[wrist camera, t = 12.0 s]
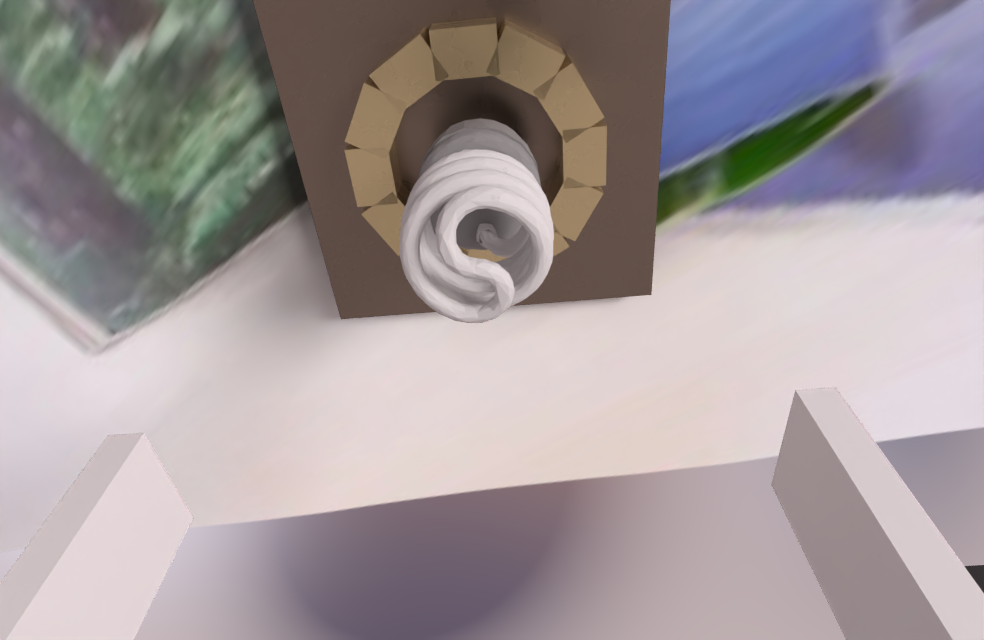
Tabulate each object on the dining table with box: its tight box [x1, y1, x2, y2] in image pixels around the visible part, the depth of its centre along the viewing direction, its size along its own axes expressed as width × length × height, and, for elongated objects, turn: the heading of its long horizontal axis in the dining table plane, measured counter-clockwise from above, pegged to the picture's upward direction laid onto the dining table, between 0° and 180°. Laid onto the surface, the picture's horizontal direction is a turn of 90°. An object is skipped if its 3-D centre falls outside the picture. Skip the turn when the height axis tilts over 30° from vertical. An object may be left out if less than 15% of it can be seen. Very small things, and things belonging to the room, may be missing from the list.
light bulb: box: [400, 118, 554, 323], centre depth 25 cm, size 6×6×12 cm
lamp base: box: [253, 0, 671, 319], centre depth 30 cm, size 18×18×4 cm
